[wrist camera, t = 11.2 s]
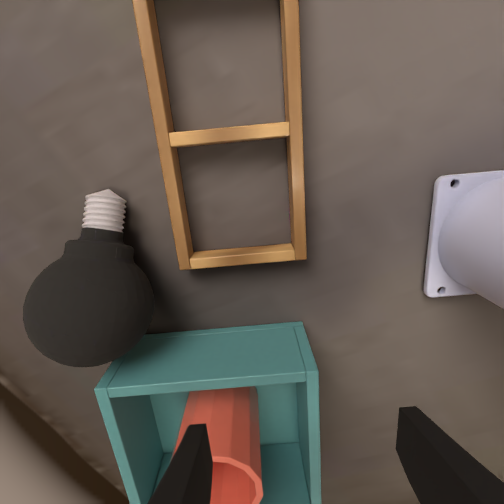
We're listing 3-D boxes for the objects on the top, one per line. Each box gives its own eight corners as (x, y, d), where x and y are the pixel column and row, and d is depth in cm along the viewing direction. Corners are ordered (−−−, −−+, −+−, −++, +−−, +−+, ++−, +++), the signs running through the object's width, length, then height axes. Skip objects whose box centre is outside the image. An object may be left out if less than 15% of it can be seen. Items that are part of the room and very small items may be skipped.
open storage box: (302, 320, 21) (318, 370, 16) (306, 440, 24) (321, 512, 19) (129, 335, 21) (93, 389, 16) (159, 452, 24) (136, 526, 19)
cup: (254, 365, 21) (257, 451, 15) (261, 422, 23) (266, 521, 16) (182, 372, 21) (155, 460, 15) (194, 428, 23) (174, 529, 16)
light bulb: (123, 170, 13) (99, 396, 13) (181, 204, 19) (167, 355, 19) (6, 168, 14) (-21, 375, 14) (97, 200, 21) (81, 343, 20)
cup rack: (292, -31, 14) (297, -52, 13) (302, 252, 19) (306, 259, 18) (137, -15, 15) (125, -35, 13) (184, 262, 19) (179, 270, 18)
